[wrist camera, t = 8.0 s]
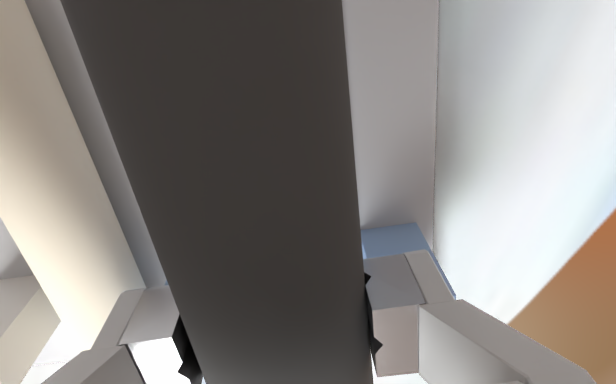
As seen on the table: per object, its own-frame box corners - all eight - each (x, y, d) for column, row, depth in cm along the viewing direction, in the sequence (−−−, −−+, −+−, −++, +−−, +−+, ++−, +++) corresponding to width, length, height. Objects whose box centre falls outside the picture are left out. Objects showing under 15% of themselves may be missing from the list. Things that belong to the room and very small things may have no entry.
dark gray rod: (97, -85, 6) (-84, -153, 3) (317, -118, 6) (349, -220, 3) (269, 465, 14) (265, 608, 11) (371, 451, 14) (398, 591, 11)
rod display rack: (-457, -9, 12) (-929, -2, 8) (431, -143, 12) (530, -225, 7) (-102, 369, 21) (-219, 486, 16) (424, 298, 21) (468, 396, 16)
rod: (-58, 5, 12) (-159, 13, 10) (43, -9, 12) (-29, -7, 9) (107, 325, 19) (76, 385, 16) (173, 316, 19) (153, 375, 16)
